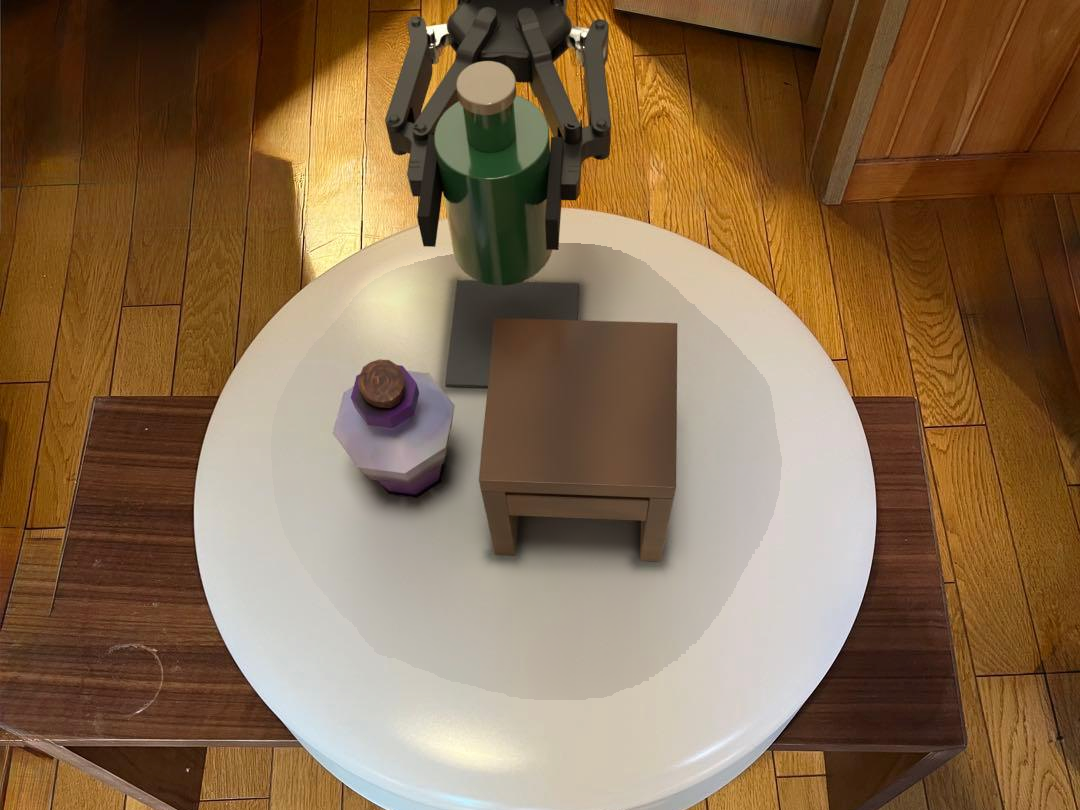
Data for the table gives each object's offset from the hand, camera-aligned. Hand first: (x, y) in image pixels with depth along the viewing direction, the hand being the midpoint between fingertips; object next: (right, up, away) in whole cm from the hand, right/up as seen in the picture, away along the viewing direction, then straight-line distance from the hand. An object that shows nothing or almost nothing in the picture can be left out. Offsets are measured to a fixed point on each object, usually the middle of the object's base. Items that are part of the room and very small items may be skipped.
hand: (488, 233), depth 59 cm
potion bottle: (-7, -13, +14) cm, 20 cm away
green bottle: (+1, +2, +8) cm, 9 cm away
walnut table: (+6, -15, +13) cm, 20 cm away
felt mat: (+1, -2, +18) cm, 18 cm away
